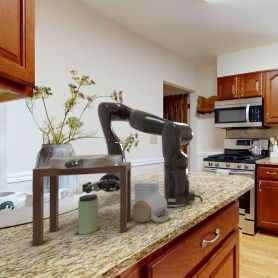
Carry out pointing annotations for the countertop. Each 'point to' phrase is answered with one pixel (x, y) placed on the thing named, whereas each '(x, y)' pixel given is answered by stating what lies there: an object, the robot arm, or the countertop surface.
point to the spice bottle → (88, 214)
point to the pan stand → (77, 167)
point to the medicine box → (145, 190)
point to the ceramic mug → (151, 208)
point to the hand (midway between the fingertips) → (102, 189)
